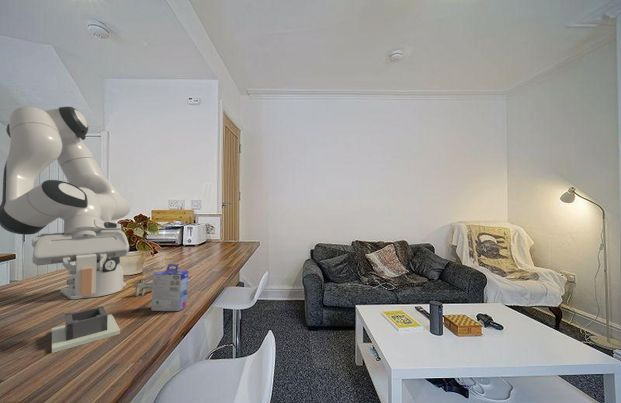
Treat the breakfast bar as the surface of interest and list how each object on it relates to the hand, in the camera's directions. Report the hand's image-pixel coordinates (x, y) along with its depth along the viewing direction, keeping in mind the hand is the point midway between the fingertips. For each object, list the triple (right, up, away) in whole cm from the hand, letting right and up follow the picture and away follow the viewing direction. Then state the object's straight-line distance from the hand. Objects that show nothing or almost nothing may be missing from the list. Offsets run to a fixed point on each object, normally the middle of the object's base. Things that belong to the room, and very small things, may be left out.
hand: (86, 271), depth 69 cm
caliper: (0, -18, +36) cm, 40 cm away
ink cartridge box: (+13, -17, +17) cm, 28 cm away
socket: (0, -17, 0) cm, 17 cm away
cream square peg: (-1, -6, 0) cm, 6 cm away
